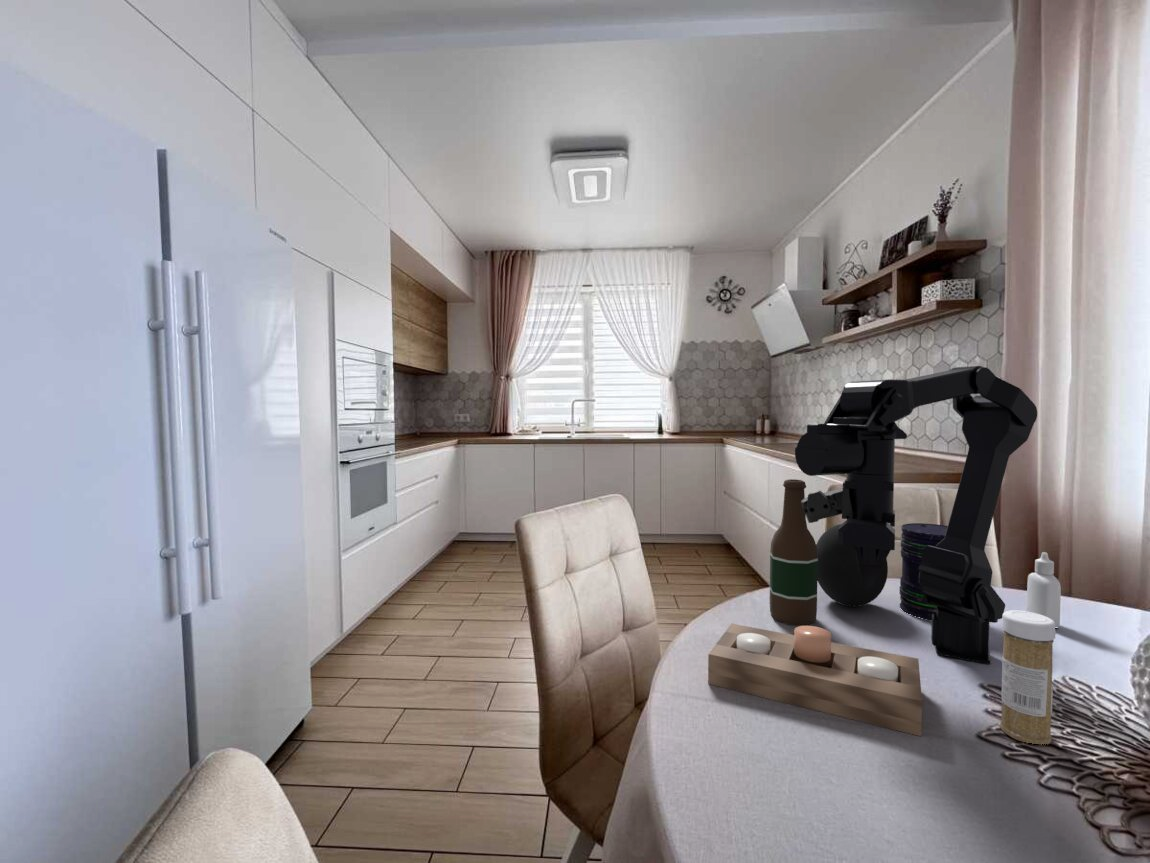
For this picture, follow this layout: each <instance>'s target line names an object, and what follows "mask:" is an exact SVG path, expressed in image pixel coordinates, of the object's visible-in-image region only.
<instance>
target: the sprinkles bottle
mask: <svg viewBox="0 0 1150 863" xmlns="http://www.w3.org/2000/svg"><path fill="white" fill-rule="evenodd" d="M1001 629H1002V633H1003V650H1002V651H1003V654H1002V660H1001V661H1002V664H1001V665H1002V667H1001V668H1002V669H1001V720H1000V723H999V726H1000V729H1001V730H1002V731H1003V732H1004V733H1005V734H1006V735H1008V737H1011V738H1013V739H1014V740H1016V741H1019V742H1021V741H1022V742H1021V743H1024V742H1026V743H1025V744H1028V743H1032V744H1031V745H1033V744H1041V745H1040V746H1046V744H1047V745H1049V744H1051V742H1052V740H1053V738H1052V734H1051V729H1052V712H1053V693H1054V692H1053V689H1054V688H1053V651H1054V650H1053V644H1054V642H1055V641H1054V640H1055V639H1056V629H1055V622H1054V621H1053V620H1052V619H1050V618H1048V617H1046V616H1043V615H1040V614H1037V613H1032V612H1027V610H1026V611H1025V610H1006V611H1004V613H1003V615H1002V619H1001ZM1042 744H1043V745H1042ZM1044 744H1045V745H1044Z"/></svg>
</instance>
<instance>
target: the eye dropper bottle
mask: <svg viewBox="0 0 1150 863" xmlns="http://www.w3.org/2000/svg"><path fill="white" fill-rule="evenodd" d="M1040 555H1041V556H1040V558H1037V559H1035V560H1034V572H1030V573H1029V574H1028V575H1027V585H1026V588H1027V590H1026V611H1027V612H1032V613H1037V614H1040V615H1043V616H1046V617H1048V618H1050V619H1052V620H1053V621H1054V622H1055V627H1059V628H1060V626H1061V625H1060V624H1061V599H1062V598H1061V596H1062V595H1061V593H1062V592H1061V591H1062V590H1061V589H1062V588H1061V582H1060V581H1059V579H1058V578H1057V577H1055V576H1054V573H1055V562H1054V561H1053V560H1051V559H1050V558H1049V554H1048V553H1047V552H1046V551H1043V552H1041V554H1040Z"/></svg>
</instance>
